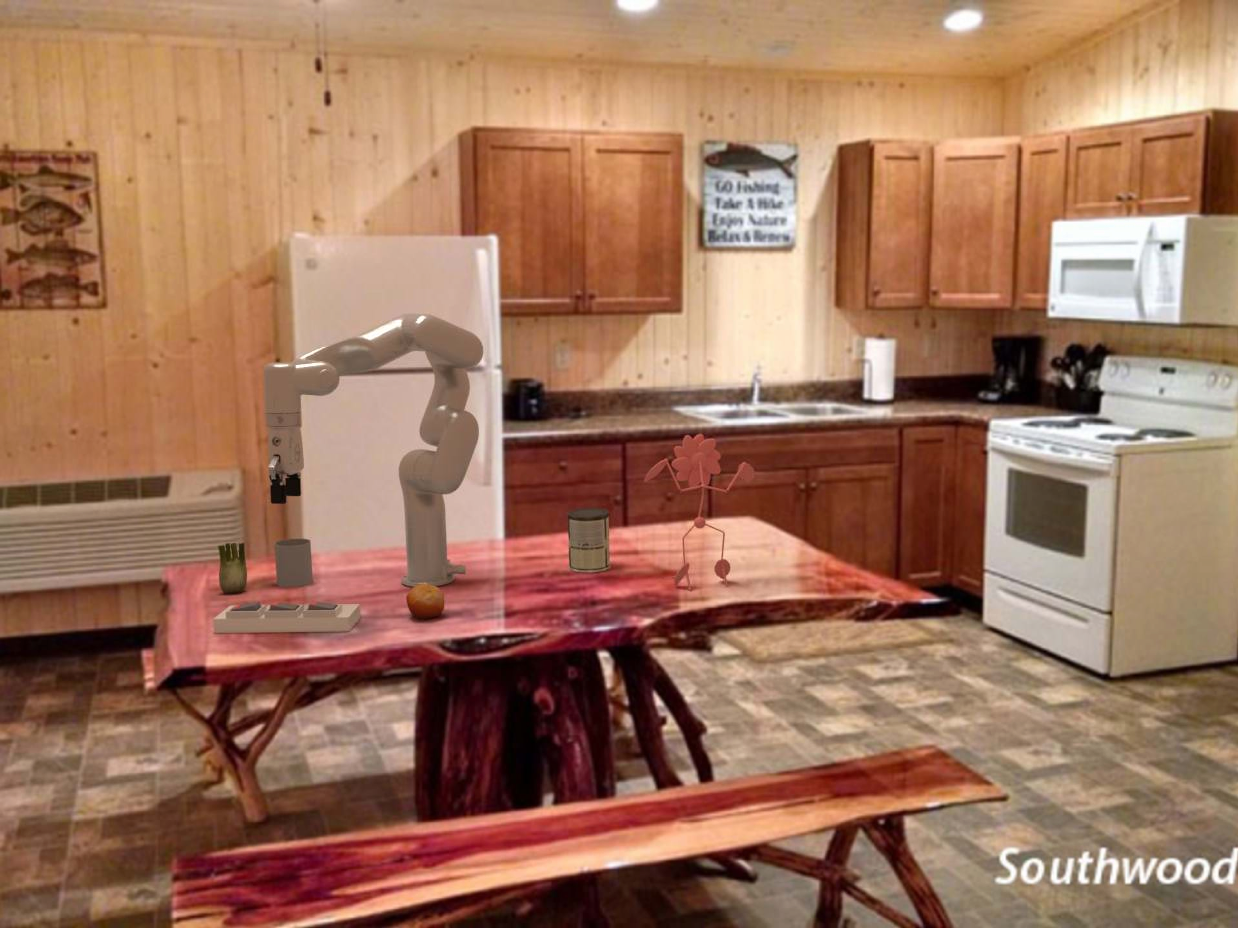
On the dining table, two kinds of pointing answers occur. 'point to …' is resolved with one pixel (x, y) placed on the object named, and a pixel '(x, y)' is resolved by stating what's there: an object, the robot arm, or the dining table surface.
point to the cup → (293, 563)
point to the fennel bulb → (232, 568)
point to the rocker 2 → (321, 606)
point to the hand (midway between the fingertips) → (286, 499)
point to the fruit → (425, 601)
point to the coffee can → (588, 540)
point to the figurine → (697, 467)
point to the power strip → (288, 620)
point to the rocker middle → (282, 606)
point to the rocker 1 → (247, 607)
